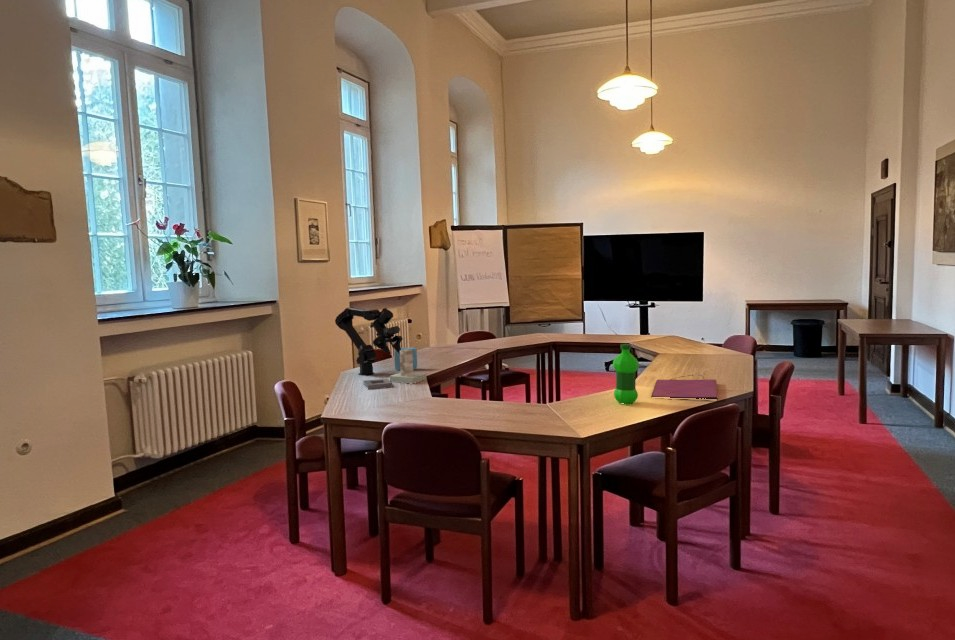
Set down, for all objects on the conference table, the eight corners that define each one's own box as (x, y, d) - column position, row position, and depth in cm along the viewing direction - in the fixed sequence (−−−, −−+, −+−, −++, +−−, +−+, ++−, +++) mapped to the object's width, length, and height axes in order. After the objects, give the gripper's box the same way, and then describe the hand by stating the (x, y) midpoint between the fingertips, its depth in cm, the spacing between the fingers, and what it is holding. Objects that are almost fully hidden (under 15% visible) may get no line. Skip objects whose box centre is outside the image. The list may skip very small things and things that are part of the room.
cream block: (400, 375, 337) (399, 350, 336) (407, 374, 341) (406, 349, 339) (406, 376, 334) (405, 351, 333) (413, 374, 338) (412, 349, 336)
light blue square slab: (417, 368, 372) (416, 347, 371) (416, 370, 368) (415, 348, 366) (396, 368, 373) (395, 347, 372) (395, 370, 368) (394, 349, 367)
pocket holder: (363, 384, 332) (363, 380, 332) (387, 382, 336) (387, 378, 335) (367, 389, 320) (367, 385, 320) (392, 386, 324) (392, 382, 324)
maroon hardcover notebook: (717, 393, 277) (651, 392, 286) (717, 403, 277) (651, 401, 286) (716, 374, 314) (657, 373, 323) (716, 382, 315) (657, 381, 324)
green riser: (390, 381, 337) (389, 375, 337) (404, 377, 348) (404, 371, 347) (412, 384, 330) (412, 378, 330) (426, 379, 340) (426, 373, 340)
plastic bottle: (614, 400, 285) (614, 342, 282) (639, 401, 281) (639, 343, 279) (611, 405, 276) (611, 346, 273) (637, 406, 272) (637, 346, 269)
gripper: (380, 320, 337) (394, 344, 332) (402, 320, 353) (416, 344, 348) (366, 333, 341) (380, 357, 336) (388, 333, 357) (402, 356, 352)
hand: (395, 353), depth 343 cm, fingers open, 9 cm apart
